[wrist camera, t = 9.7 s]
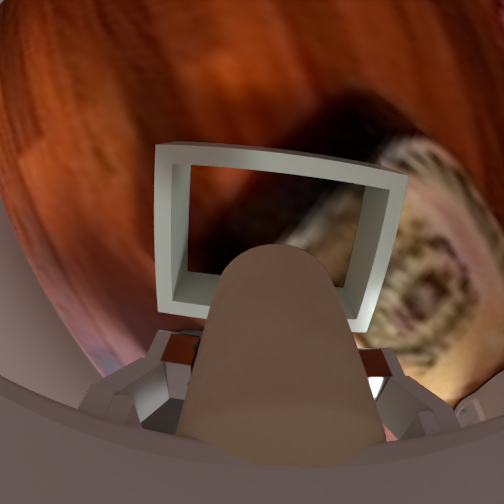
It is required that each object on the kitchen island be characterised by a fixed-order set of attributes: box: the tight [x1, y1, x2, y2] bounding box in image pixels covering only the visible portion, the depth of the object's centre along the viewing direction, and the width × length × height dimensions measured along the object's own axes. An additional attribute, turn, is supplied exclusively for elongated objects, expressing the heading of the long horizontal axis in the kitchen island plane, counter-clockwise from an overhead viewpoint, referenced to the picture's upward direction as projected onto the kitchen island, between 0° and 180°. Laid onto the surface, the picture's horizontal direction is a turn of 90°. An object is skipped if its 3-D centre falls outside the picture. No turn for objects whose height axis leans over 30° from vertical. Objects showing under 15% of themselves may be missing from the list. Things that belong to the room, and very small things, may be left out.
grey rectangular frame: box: [154, 141, 409, 332], centre depth 22 cm, size 12×16×5 cm
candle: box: [175, 244, 386, 468], centre depth 9 cm, size 6×6×10 cm
